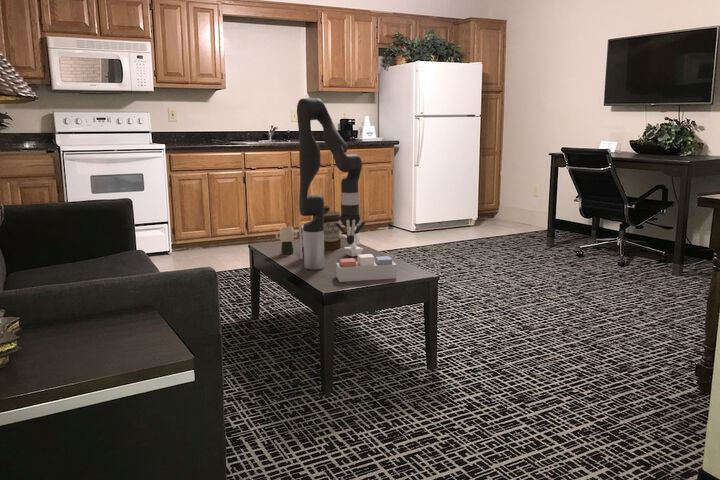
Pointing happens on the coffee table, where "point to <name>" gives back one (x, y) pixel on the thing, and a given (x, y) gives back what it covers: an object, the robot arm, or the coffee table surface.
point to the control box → (365, 272)
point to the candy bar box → (301, 242)
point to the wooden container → (331, 229)
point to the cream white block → (365, 259)
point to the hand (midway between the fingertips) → (350, 243)
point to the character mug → (286, 239)
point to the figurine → (354, 246)
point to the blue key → (383, 260)
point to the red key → (347, 262)
